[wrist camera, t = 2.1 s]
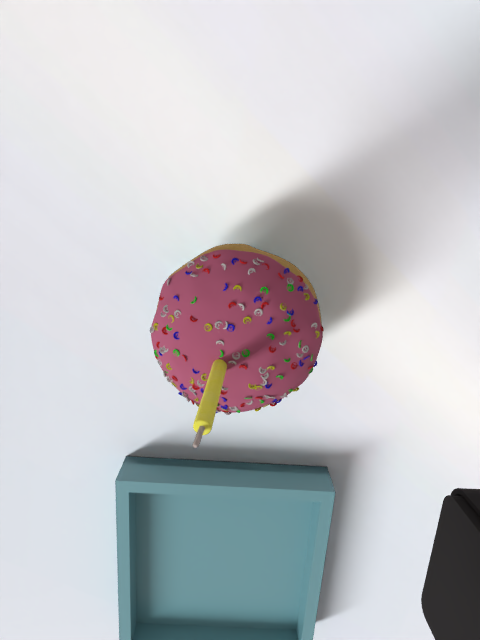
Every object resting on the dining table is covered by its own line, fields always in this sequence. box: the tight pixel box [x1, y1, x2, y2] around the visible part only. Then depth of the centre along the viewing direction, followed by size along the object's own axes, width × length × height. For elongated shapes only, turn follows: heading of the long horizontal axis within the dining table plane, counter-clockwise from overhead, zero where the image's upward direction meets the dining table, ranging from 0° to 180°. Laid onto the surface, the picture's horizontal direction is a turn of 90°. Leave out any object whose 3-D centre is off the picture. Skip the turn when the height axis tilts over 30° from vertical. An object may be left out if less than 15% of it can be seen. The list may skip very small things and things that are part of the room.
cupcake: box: [150, 244, 323, 448], centre depth 19 cm, size 9×8×12 cm
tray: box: [115, 456, 335, 640], centre depth 28 cm, size 14×15×2 cm
